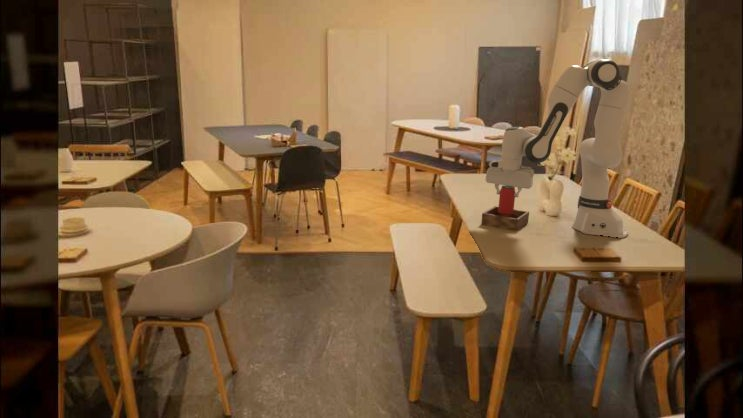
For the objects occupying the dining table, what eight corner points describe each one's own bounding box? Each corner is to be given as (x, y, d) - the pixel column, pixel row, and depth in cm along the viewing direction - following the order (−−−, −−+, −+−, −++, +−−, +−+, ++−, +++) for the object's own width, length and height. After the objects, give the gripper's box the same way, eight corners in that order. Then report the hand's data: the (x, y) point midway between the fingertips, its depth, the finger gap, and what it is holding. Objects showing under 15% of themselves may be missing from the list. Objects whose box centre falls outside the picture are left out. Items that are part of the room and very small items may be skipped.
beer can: (513, 215, 248) (516, 189, 245) (498, 214, 249) (500, 187, 246) (512, 212, 255) (515, 185, 252) (497, 210, 256) (500, 184, 253)
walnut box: (528, 222, 256) (529, 211, 255) (517, 230, 242) (518, 219, 241) (493, 216, 264) (494, 206, 262) (481, 224, 250) (482, 213, 249)
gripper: (536, 166, 244) (533, 198, 247) (490, 160, 254) (487, 190, 257) (532, 168, 239) (528, 200, 242) (485, 162, 249) (482, 193, 252)
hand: (507, 195), depth 250 cm, fingers closed on beer can, 7 cm apart
